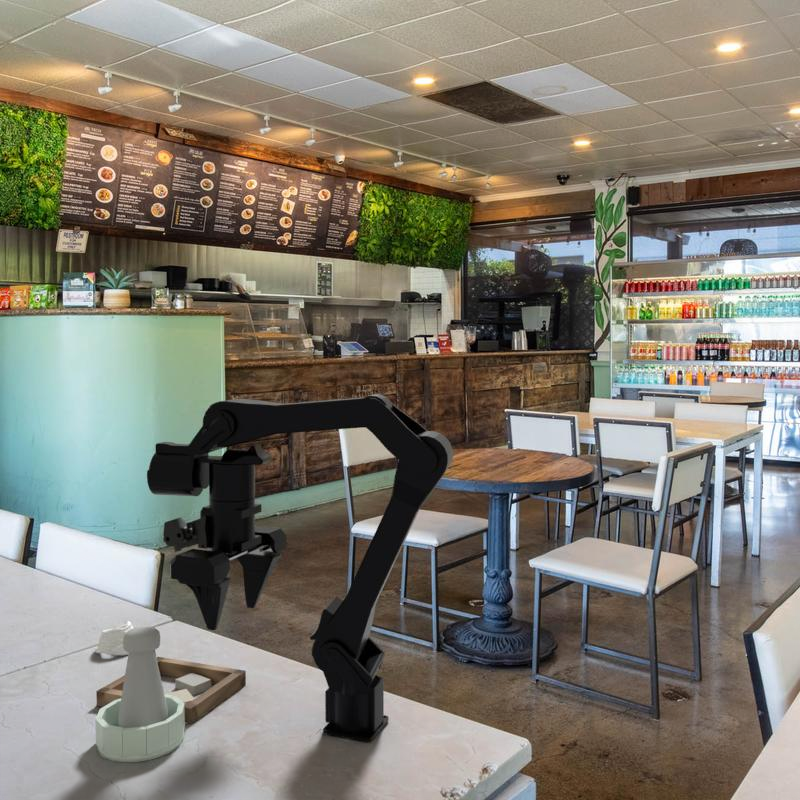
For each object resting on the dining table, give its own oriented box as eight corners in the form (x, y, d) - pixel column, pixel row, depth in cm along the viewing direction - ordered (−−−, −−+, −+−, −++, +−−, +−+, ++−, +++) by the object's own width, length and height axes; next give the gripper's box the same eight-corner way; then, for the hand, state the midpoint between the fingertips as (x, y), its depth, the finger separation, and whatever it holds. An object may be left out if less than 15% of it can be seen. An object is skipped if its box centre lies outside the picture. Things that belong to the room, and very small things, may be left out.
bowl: (200, 730, 100) (199, 700, 100) (148, 768, 91) (148, 736, 91) (134, 717, 104) (134, 688, 104) (78, 753, 95) (78, 722, 94)
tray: (245, 684, 114) (245, 670, 114) (191, 724, 102) (191, 708, 102) (158, 669, 119) (157, 656, 119) (96, 705, 107) (96, 691, 107)
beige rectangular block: (195, 711, 106) (195, 699, 106) (172, 716, 105) (172, 705, 105) (186, 700, 110) (186, 688, 110) (164, 705, 108) (164, 693, 108)
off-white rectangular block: (210, 690, 113) (210, 679, 113) (193, 697, 111) (193, 686, 111) (192, 683, 115) (192, 672, 115) (175, 690, 113) (175, 679, 113)
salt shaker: (167, 743, 95) (165, 635, 95) (116, 748, 94) (114, 640, 93) (169, 721, 101) (167, 619, 100) (121, 726, 100) (119, 623, 99)
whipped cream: (111, 668, 123) (110, 639, 122) (83, 656, 126) (82, 627, 125) (152, 648, 129) (152, 620, 128) (125, 637, 133) (124, 609, 132)
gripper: (218, 482, 114) (218, 591, 115) (131, 506, 96) (132, 633, 97) (288, 488, 110) (288, 600, 111) (211, 513, 92) (211, 646, 93)
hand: (232, 618), depth 103 cm, fingers open, 9 cm apart
